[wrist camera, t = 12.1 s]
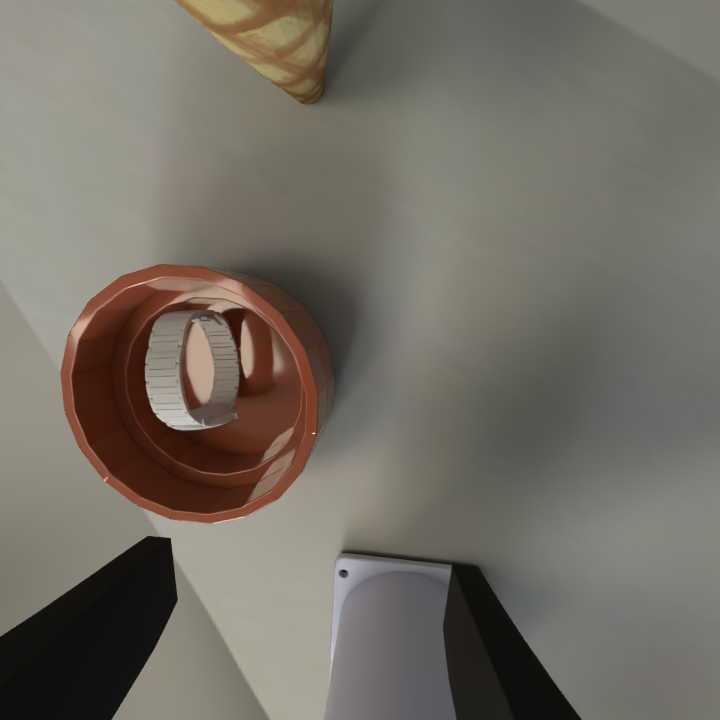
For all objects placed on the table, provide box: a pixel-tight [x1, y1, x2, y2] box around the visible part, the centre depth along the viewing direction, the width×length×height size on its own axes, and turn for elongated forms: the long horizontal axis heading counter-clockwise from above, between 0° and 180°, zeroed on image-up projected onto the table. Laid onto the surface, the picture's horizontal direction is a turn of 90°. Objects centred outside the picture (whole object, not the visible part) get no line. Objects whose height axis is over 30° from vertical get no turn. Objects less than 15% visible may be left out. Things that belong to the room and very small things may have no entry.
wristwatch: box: [145, 310, 241, 431], centre depth 15 cm, size 3×5×5 cm, turn 3°
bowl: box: [61, 264, 335, 524], centre depth 16 cm, size 11×11×4 cm
